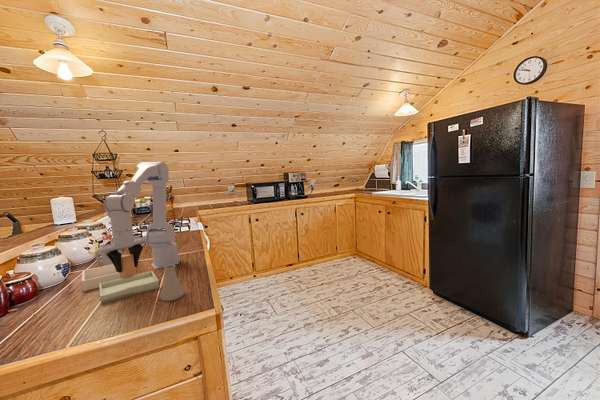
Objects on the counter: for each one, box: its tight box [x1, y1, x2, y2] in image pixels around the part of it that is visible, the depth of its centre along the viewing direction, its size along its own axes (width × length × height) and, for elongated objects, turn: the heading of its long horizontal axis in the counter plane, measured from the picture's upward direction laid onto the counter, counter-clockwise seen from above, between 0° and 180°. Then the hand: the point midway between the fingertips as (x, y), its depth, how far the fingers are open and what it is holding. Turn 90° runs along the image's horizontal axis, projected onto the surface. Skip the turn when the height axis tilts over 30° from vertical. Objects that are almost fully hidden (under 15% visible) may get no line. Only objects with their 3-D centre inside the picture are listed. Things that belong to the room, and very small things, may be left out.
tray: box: [99, 270, 160, 305], centre depth 88 cm, size 16×12×2 cm
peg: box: [120, 253, 137, 279], centre depth 88 cm, size 4×4×7 cm
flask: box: [159, 264, 186, 302], centre depth 82 cm, size 7×7×10 cm
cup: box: [94, 243, 123, 266], centre depth 113 cm, size 7×10×9 cm
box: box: [81, 264, 121, 292], centre depth 96 cm, size 13×13×4 cm
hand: (127, 269), depth 88 cm, fingers closed on peg, 4 cm apart
